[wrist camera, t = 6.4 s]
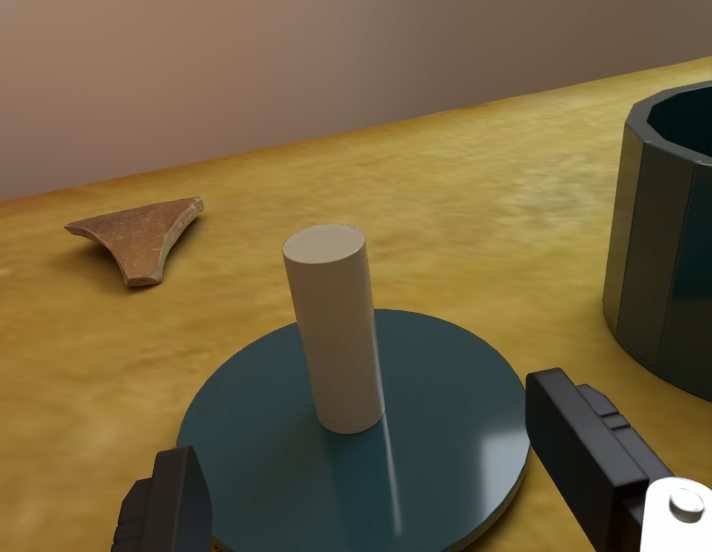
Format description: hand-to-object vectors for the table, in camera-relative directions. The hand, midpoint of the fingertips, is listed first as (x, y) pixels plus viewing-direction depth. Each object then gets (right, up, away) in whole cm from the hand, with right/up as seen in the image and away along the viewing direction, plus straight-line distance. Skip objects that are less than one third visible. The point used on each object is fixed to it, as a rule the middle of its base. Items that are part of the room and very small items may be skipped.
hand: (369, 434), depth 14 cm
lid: (0, -2, +10) cm, 10 cm away
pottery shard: (-15, +6, +28) cm, 32 cm away
